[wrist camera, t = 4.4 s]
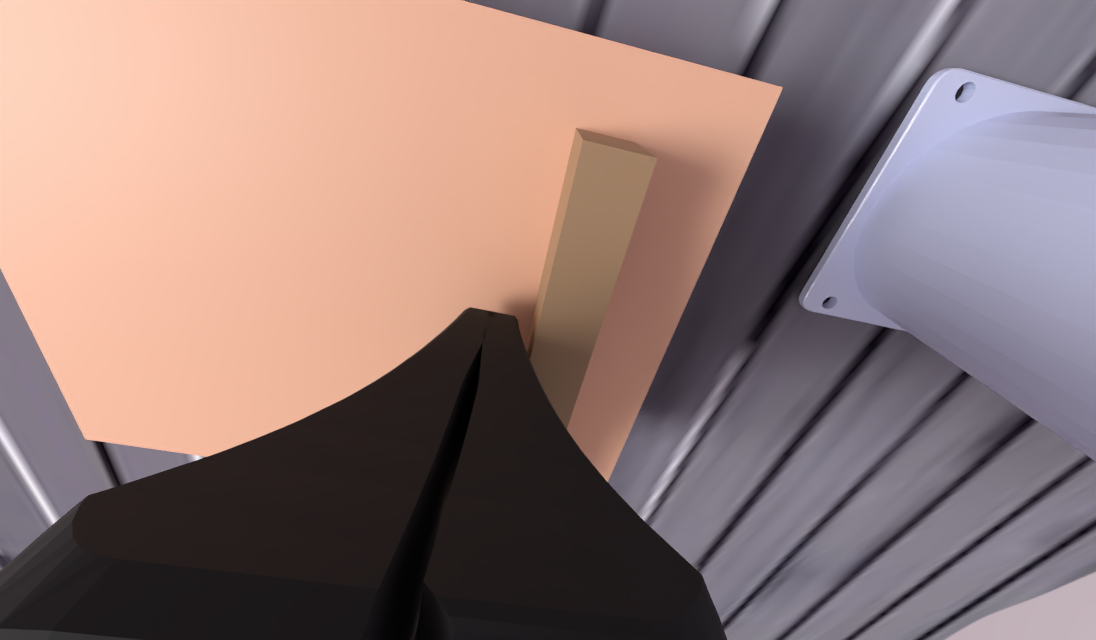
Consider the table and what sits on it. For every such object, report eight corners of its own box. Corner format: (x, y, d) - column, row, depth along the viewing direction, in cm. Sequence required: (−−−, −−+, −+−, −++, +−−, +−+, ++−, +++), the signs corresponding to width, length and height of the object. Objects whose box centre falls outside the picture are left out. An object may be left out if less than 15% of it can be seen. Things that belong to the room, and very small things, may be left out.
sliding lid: (759, 87, 8) (851, 87, 6) (591, 487, 15) (600, 573, 12) (-126, -152, 7) (-550, -301, 4) (116, 416, 13) (9, 497, 11)
